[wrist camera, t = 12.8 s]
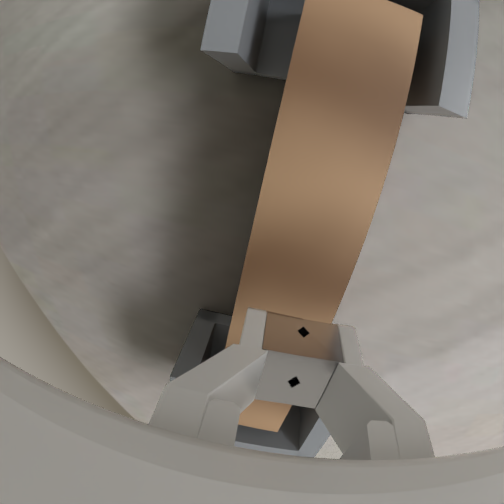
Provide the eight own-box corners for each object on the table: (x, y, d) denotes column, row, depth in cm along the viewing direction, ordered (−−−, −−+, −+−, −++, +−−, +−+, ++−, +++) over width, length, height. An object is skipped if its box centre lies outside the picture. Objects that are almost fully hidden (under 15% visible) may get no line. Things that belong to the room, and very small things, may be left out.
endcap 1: (311, 394, 22) (311, 461, 17) (194, 371, 22) (171, 434, 17) (337, 336, 19) (347, 409, 14) (200, 308, 20) (170, 376, 14)
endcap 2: (254, -28, 11) (234, -86, 6) (424, 14, 11) (479, -19, 5) (233, 72, 14) (200, 50, 8) (409, 113, 13) (466, 118, 8)
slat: (306, 14, 11) (310, -23, 7) (388, 39, 11) (423, 15, 7) (224, 365, 20) (209, 417, 16) (281, 378, 20) (277, 432, 16)
